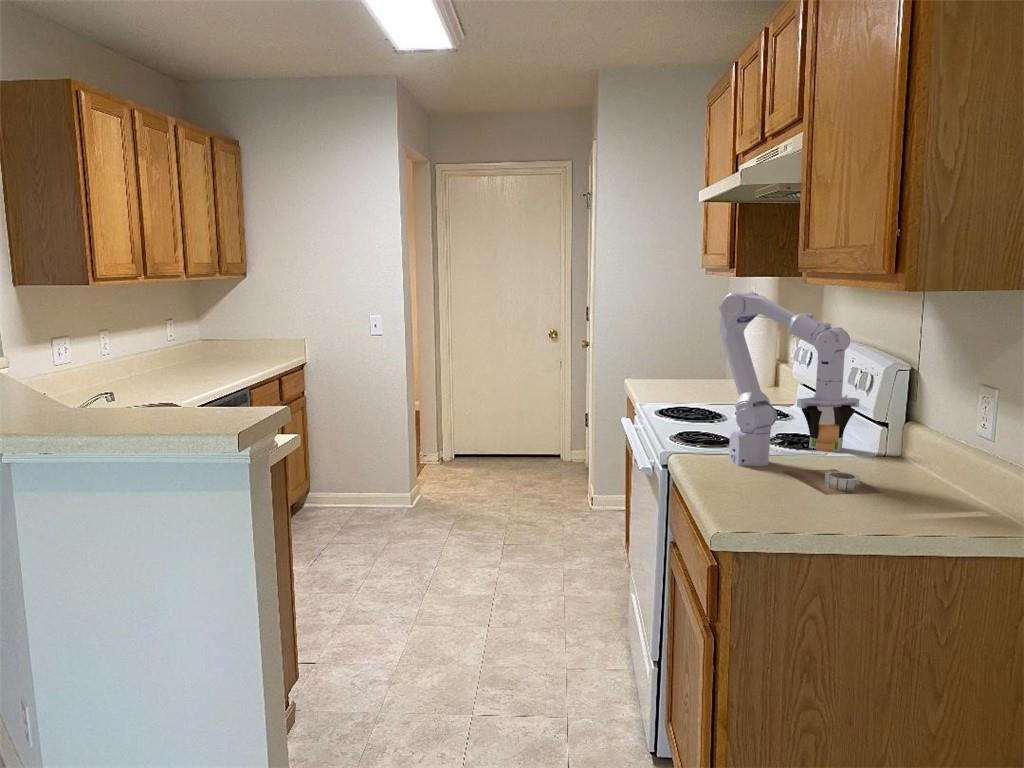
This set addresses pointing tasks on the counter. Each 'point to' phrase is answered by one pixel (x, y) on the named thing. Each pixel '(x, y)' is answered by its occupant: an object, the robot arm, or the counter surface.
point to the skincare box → (828, 417)
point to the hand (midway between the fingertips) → (825, 437)
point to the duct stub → (842, 481)
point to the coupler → (827, 437)
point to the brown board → (818, 480)
